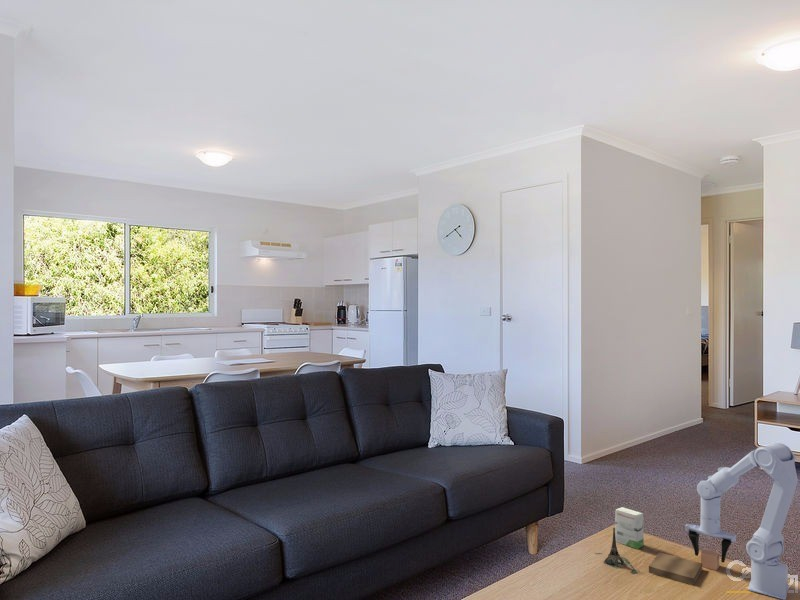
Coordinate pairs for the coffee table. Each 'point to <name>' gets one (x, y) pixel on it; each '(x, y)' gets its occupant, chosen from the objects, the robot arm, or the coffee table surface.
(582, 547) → the coffee table surface
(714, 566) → the terracotta block
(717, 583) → the coffee table surface
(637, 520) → the ink box
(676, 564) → the walnut base
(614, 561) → the eiffel tower figurine
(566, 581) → the coffee table surface
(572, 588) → the coffee table surface
